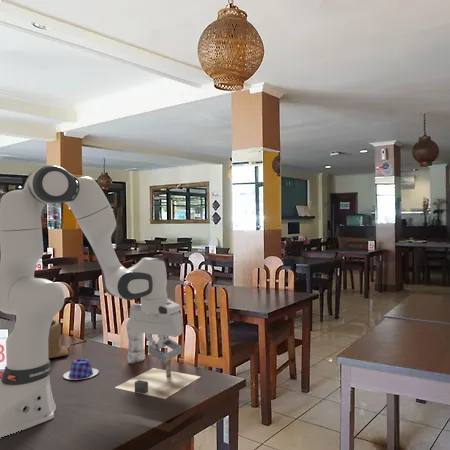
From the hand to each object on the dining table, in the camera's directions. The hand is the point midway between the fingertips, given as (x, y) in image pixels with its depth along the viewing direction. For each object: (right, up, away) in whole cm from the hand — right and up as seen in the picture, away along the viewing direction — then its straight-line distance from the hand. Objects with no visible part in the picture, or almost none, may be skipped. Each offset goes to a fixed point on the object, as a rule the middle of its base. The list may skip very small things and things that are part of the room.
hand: (155, 346), depth 148 cm
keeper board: (+2, -12, -3) cm, 13 cm away
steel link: (+3, -2, +1) cm, 4 cm away
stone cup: (-47, -13, +30) cm, 57 cm away
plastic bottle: (-11, -12, +20) cm, 26 cm away
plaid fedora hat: (-28, -13, +9) cm, 32 cm away
